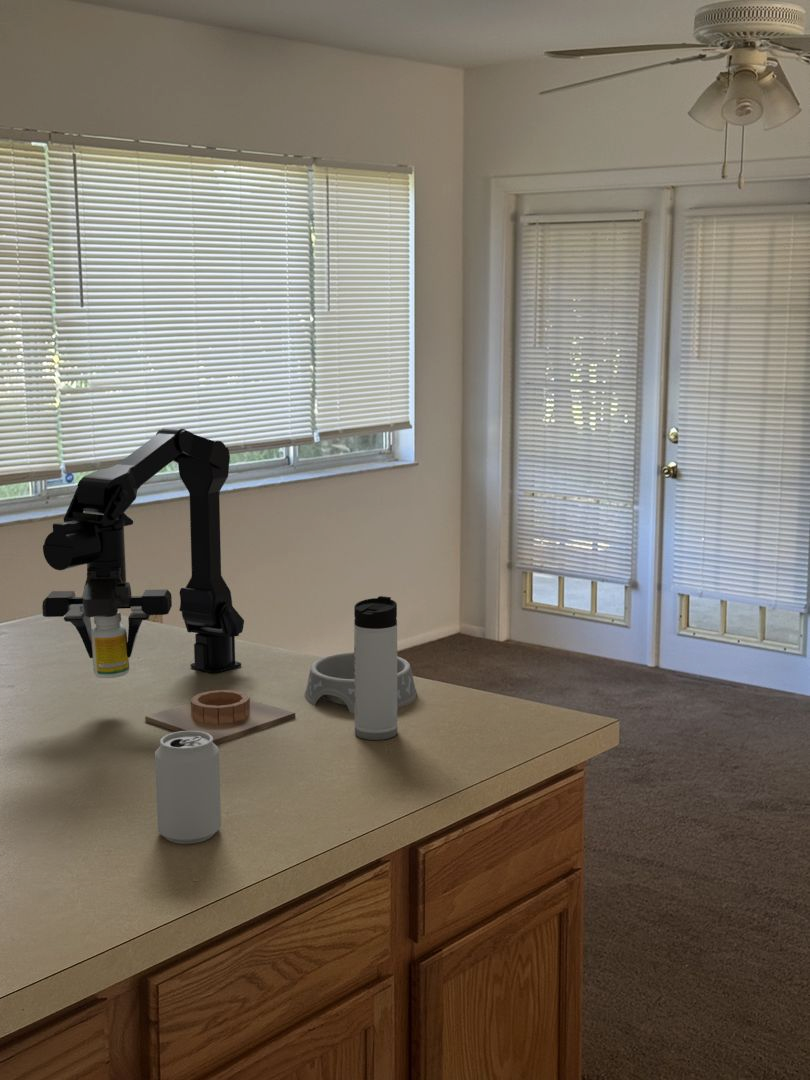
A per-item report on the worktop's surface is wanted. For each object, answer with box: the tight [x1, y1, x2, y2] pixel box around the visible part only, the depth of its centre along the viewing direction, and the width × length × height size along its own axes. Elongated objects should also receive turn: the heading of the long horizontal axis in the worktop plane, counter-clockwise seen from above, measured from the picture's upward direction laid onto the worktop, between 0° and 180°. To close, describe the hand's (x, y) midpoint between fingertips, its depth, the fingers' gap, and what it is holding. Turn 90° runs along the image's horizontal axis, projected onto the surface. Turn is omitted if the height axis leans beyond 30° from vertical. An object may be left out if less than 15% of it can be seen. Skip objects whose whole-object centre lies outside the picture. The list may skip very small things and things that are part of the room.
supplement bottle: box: [91, 611, 130, 679], centre depth 193 cm, size 5×5×10 cm
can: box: [154, 731, 222, 845], centre depth 149 cm, size 8×8×12 cm
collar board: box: [144, 689, 296, 746], centre depth 190 cm, size 16×16×3 cm
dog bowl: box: [304, 651, 418, 714], centre depth 203 cm, size 17×18×5 cm
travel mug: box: [353, 595, 398, 741], centre depth 183 cm, size 6×7×20 cm
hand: (110, 657), depth 193 cm, fingers closed on supplement bottle, 5 cm apart
